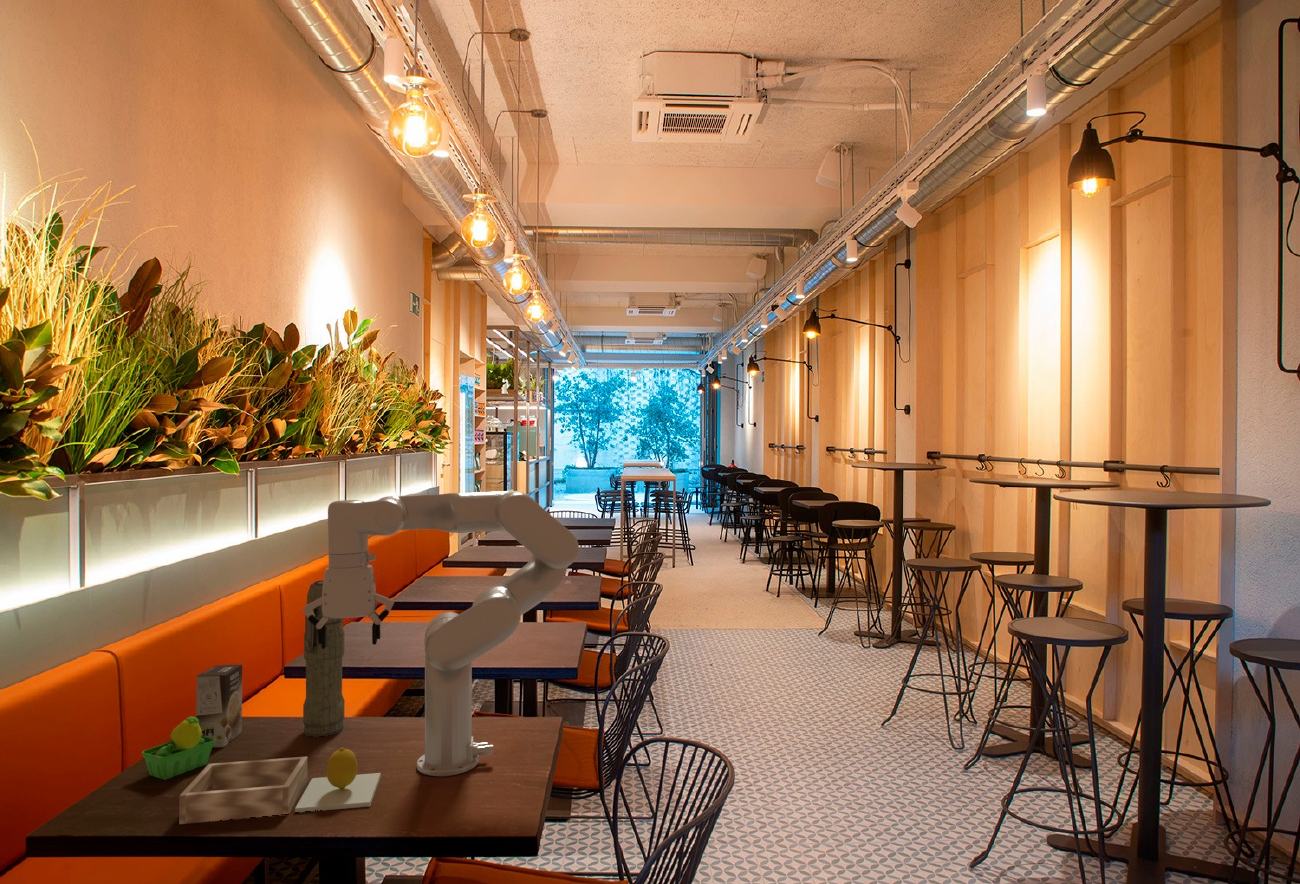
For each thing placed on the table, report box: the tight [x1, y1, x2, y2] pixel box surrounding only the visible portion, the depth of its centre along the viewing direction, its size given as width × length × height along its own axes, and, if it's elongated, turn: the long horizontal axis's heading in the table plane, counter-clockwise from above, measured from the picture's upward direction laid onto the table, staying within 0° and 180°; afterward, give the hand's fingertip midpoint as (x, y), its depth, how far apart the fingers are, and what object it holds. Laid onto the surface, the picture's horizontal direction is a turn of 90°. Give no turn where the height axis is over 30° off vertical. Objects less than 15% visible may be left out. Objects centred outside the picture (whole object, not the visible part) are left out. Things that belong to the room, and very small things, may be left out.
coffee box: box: [195, 663, 243, 748], centre depth 174 cm, size 9×6×16 cm
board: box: [294, 772, 382, 813], centre depth 146 cm, size 13×13×1 cm
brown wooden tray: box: [178, 756, 309, 825], centre depth 143 cm, size 18×14×5 cm
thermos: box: [302, 579, 346, 738], centre depth 180 cm, size 9×12×35 cm
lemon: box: [326, 747, 359, 790], centre depth 147 cm, size 6×6×8 cm
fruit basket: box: [141, 716, 215, 781], centre depth 157 cm, size 11×9×11 cm
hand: (349, 645), depth 155 cm, fingers open, 9 cm apart
